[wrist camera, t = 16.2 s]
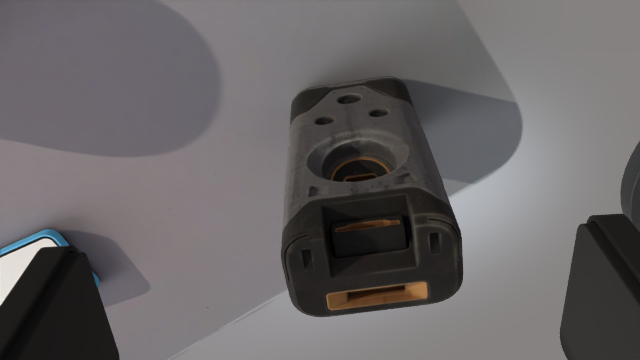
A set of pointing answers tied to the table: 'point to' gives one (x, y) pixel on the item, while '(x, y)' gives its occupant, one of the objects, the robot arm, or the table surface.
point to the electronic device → (365, 204)
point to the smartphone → (25, 257)
